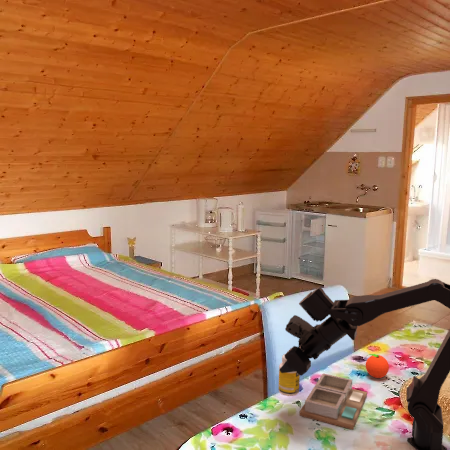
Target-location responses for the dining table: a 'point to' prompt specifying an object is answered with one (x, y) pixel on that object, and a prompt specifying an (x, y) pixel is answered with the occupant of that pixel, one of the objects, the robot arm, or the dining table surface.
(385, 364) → the clementine
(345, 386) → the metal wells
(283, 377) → the supplement bottle
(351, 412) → the socket board
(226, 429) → the dining table surface
